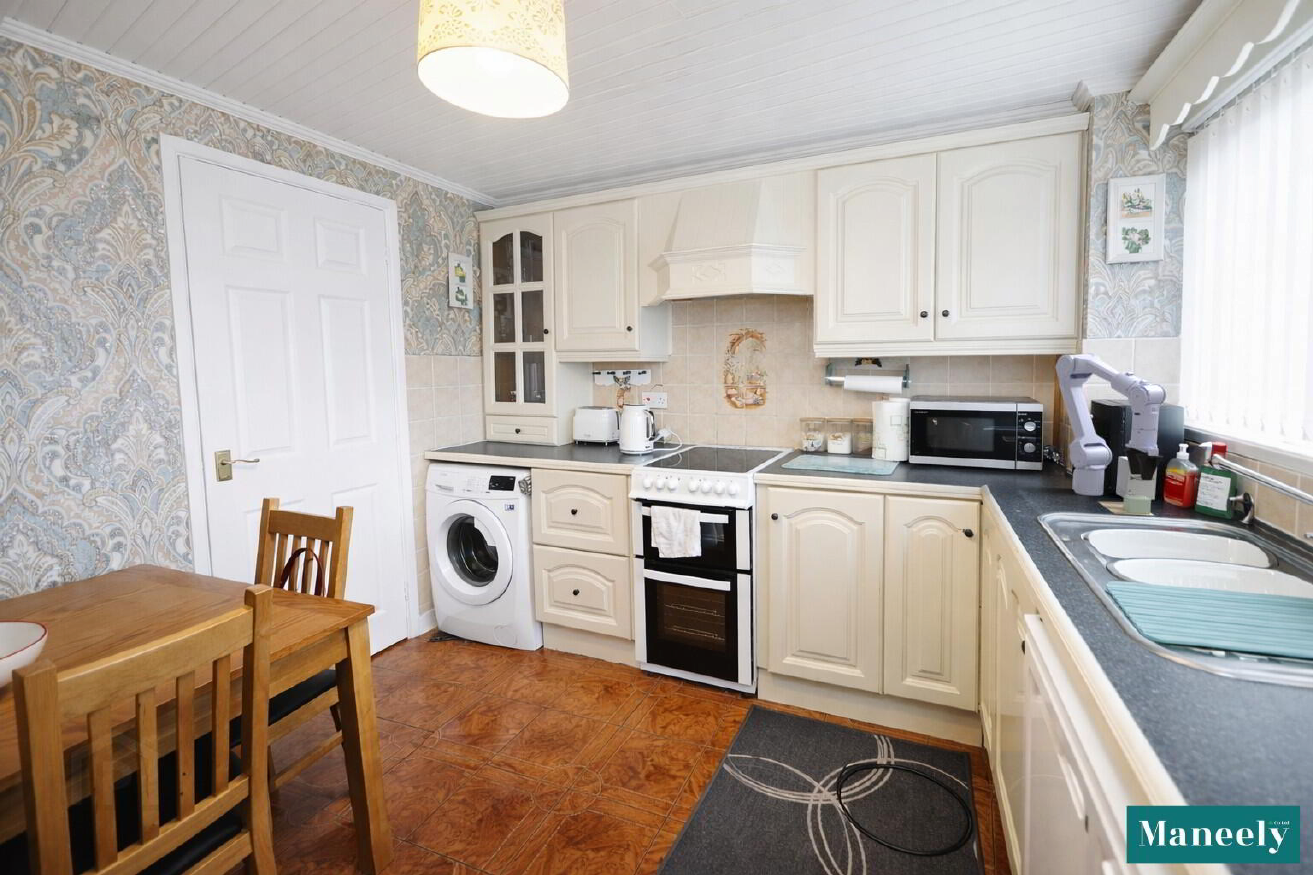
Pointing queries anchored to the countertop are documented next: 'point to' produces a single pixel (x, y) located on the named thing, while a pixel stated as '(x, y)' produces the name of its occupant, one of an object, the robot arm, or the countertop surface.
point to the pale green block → (1137, 504)
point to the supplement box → (1133, 482)
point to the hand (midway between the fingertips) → (1141, 477)
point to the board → (1118, 508)
